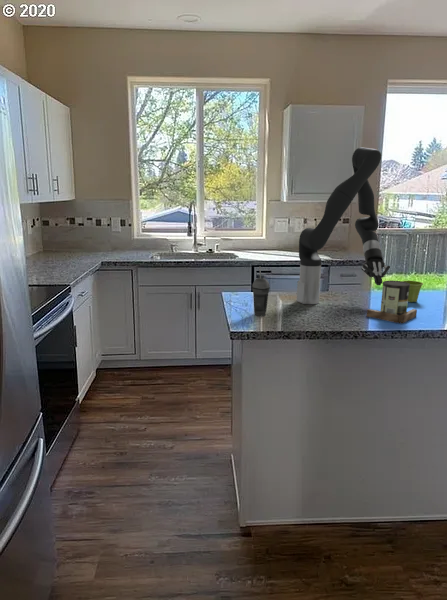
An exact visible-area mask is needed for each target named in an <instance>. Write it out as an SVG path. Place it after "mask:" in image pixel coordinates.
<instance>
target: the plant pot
mask: <svg viewBox="0 0 447 600" xmlns="http://www.w3.org/2000/svg"><path fill="white" fill-rule="evenodd" d="M402 281H403V282H407V283H409V284H410V286H409V295H408V302H409V303H413V302H414V303H416V302H418V299H419V295H420V291H421V288H422V287H423V285H424V282H421V281H416V280H402Z"/></svg>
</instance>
